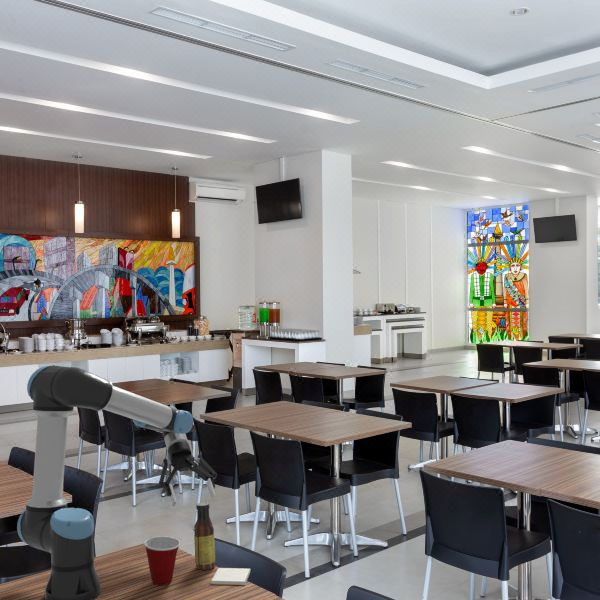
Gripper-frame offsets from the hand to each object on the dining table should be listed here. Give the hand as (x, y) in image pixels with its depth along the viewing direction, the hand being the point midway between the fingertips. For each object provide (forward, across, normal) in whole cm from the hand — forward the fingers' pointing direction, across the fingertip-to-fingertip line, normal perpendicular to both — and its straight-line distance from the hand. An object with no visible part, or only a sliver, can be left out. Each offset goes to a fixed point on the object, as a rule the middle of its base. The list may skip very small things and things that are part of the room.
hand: (194, 500), depth 227 cm
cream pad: (+29, -3, +3) cm, 29 cm away
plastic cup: (+23, +16, -4) cm, 28 cm away
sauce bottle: (+20, +1, -6) cm, 21 cm away
